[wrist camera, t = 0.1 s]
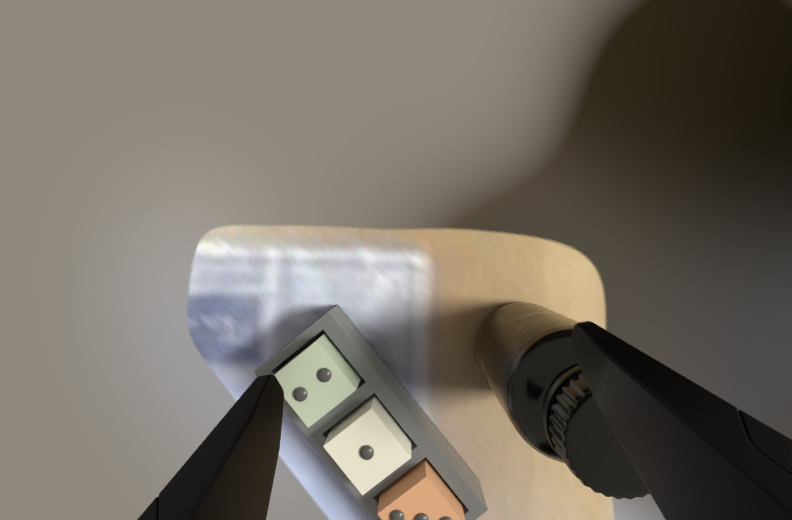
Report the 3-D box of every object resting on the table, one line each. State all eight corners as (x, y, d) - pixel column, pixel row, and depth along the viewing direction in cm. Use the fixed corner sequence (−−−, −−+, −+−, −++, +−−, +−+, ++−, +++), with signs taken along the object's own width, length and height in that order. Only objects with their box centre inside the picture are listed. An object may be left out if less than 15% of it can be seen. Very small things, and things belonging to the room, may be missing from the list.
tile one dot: (411, 435, 23) (411, 458, 20) (367, 469, 23) (362, 496, 21) (375, 391, 23) (371, 409, 20) (332, 425, 23) (322, 447, 21)
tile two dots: (362, 374, 23) (356, 390, 20) (319, 409, 23) (307, 428, 21) (326, 331, 23) (316, 341, 20) (284, 365, 23) (268, 379, 21)
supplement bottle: (460, 373, 25) (507, 488, 13) (491, 288, 24) (569, 323, 12) (547, 404, 24) (679, 552, 12) (579, 319, 24) (746, 386, 12)
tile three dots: (460, 496, 23) (466, 527, 20) (416, 529, 23) (417, 564, 21) (424, 452, 23) (426, 477, 20) (381, 485, 23) (377, 515, 21)
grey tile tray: (478, 478, 25) (487, 510, 22) (410, 529, 25) (410, 567, 22) (337, 304, 25) (327, 311, 22) (272, 357, 25) (253, 371, 22)
